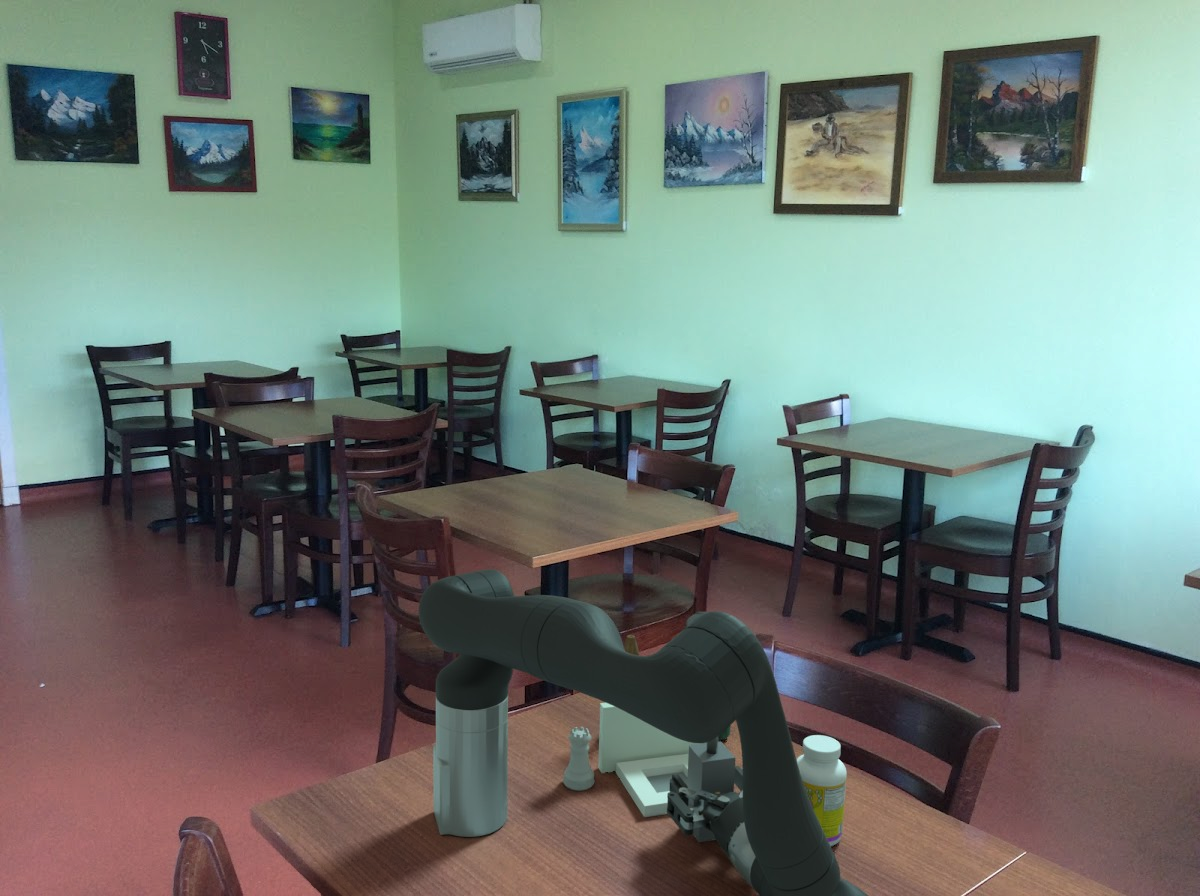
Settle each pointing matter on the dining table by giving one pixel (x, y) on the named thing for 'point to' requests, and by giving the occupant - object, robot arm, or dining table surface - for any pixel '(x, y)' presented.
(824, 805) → the supplement bottle
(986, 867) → the dining table surface
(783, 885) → the robot arm
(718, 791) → the plug
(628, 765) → the socket
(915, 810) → the dining table surface
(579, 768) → the rook chess piece
